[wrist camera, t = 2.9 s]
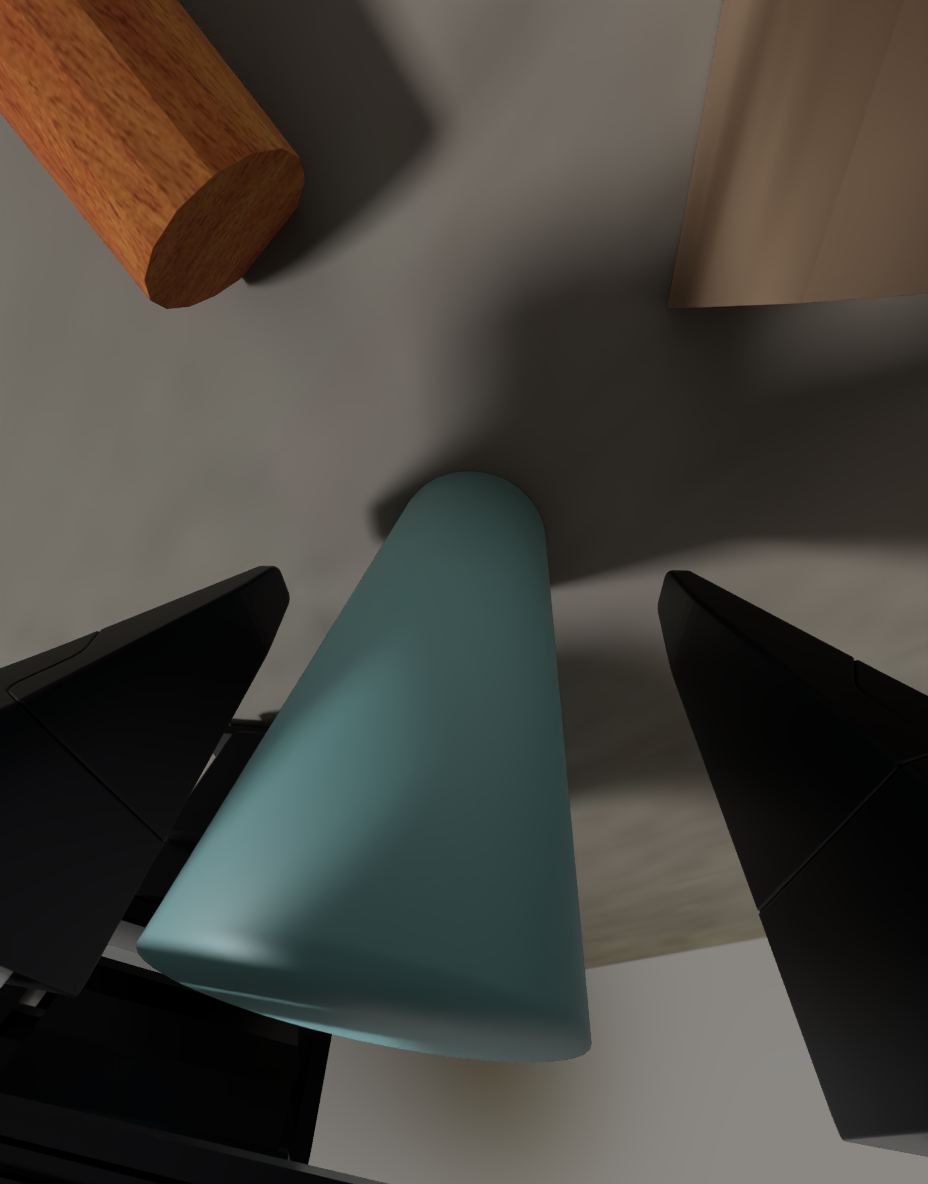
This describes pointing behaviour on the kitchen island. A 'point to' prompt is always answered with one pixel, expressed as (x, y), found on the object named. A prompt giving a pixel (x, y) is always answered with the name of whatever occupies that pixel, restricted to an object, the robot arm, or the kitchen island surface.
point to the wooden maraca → (148, 138)
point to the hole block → (810, 157)
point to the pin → (407, 811)
